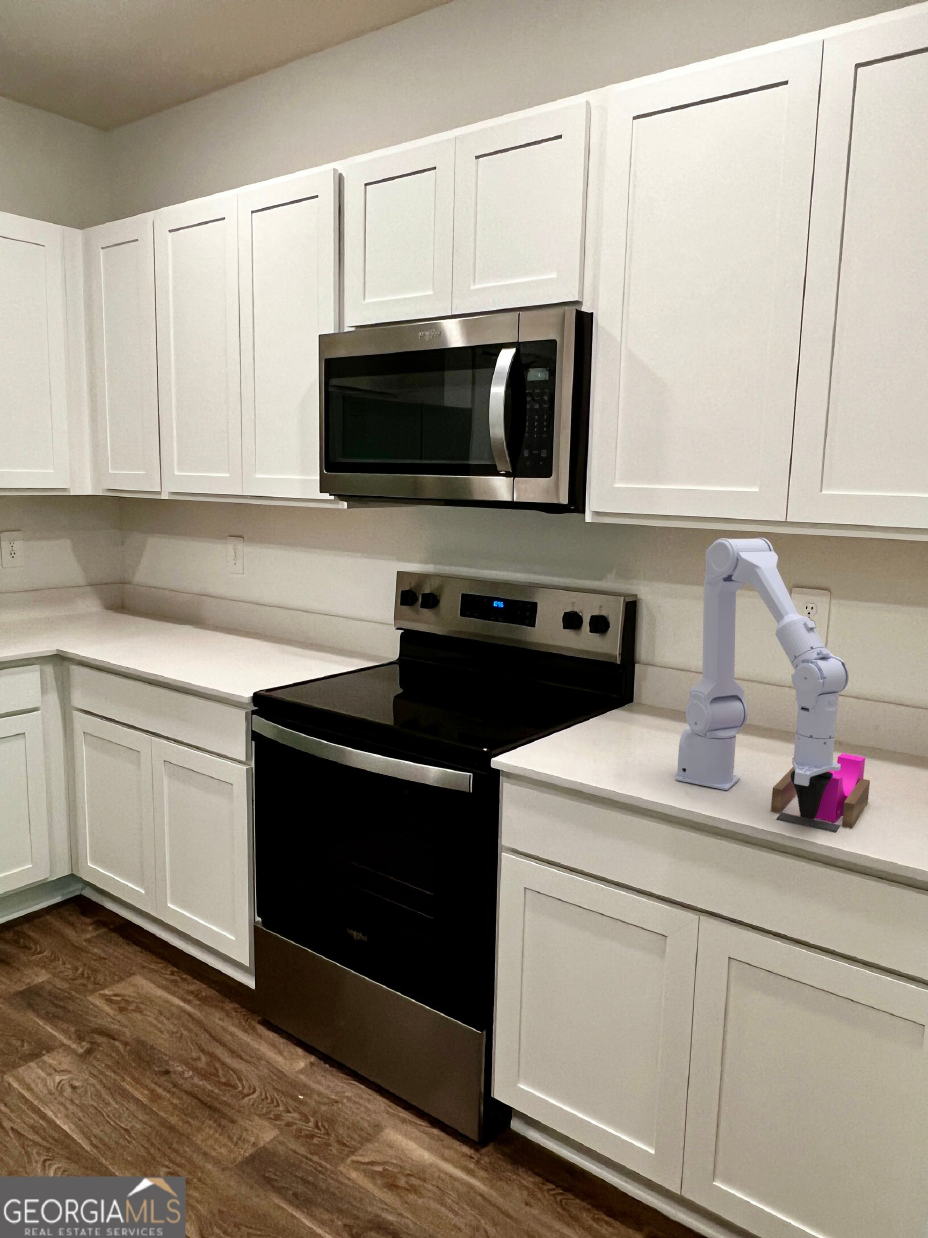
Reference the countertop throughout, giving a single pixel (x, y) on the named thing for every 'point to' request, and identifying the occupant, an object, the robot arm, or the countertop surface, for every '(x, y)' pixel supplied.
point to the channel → (852, 805)
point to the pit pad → (808, 822)
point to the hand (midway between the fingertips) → (808, 816)
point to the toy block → (840, 787)
